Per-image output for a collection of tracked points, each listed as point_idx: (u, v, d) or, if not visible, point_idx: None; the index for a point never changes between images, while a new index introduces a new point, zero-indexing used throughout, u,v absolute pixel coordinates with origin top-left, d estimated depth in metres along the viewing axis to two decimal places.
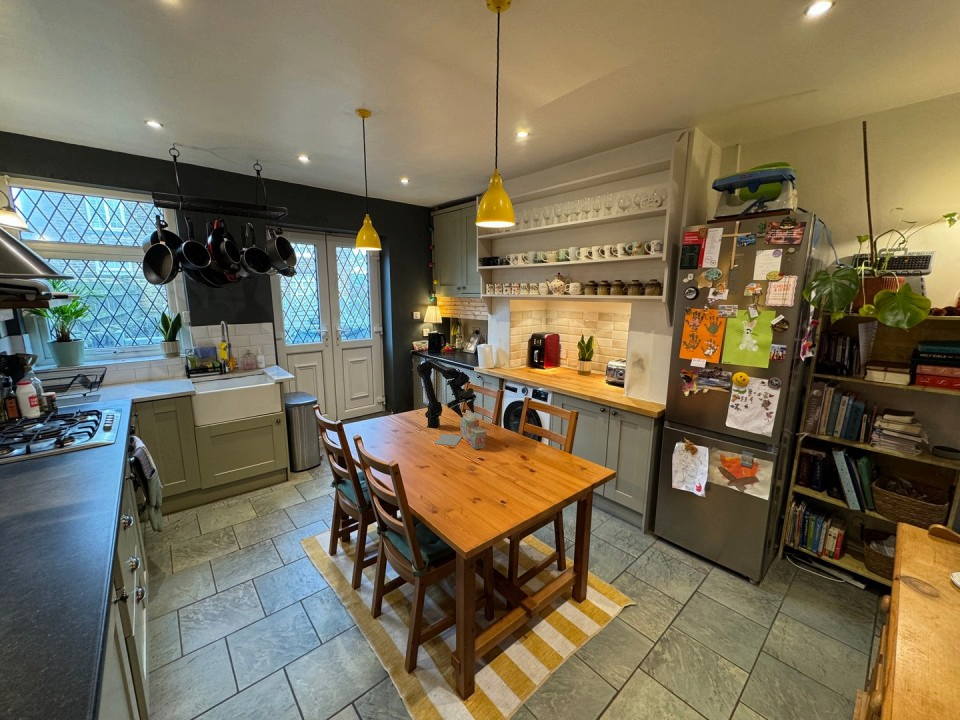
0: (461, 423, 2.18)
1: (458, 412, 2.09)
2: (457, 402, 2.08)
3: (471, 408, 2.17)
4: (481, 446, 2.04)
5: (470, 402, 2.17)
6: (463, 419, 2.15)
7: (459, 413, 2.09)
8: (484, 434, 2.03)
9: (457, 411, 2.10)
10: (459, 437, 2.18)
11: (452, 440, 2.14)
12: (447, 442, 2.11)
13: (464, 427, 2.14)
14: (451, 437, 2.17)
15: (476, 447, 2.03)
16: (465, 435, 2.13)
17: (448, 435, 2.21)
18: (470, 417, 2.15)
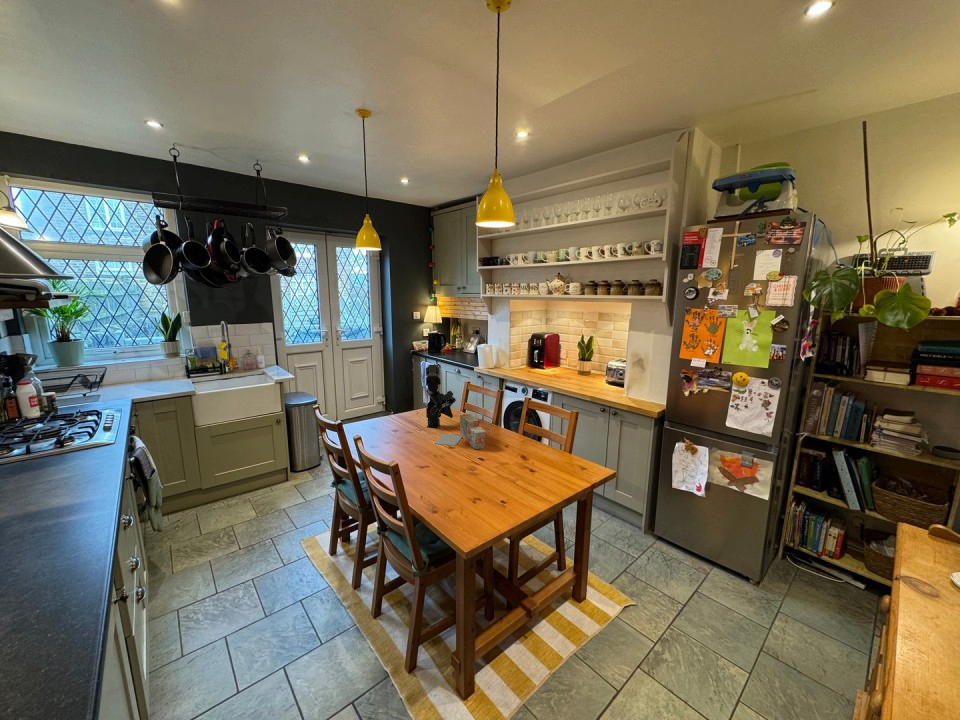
0: (461, 423, 2.18)
1: (447, 413, 2.15)
2: (440, 406, 2.10)
3: None
4: (481, 446, 2.04)
5: None
6: (463, 419, 2.15)
7: (448, 414, 2.15)
8: (484, 434, 2.03)
9: (446, 413, 2.15)
10: (459, 437, 2.18)
11: (452, 440, 2.14)
12: (447, 442, 2.11)
13: (464, 427, 2.14)
14: (451, 437, 2.17)
15: (476, 447, 2.03)
16: (465, 435, 2.13)
17: (448, 435, 2.21)
18: (470, 417, 2.15)
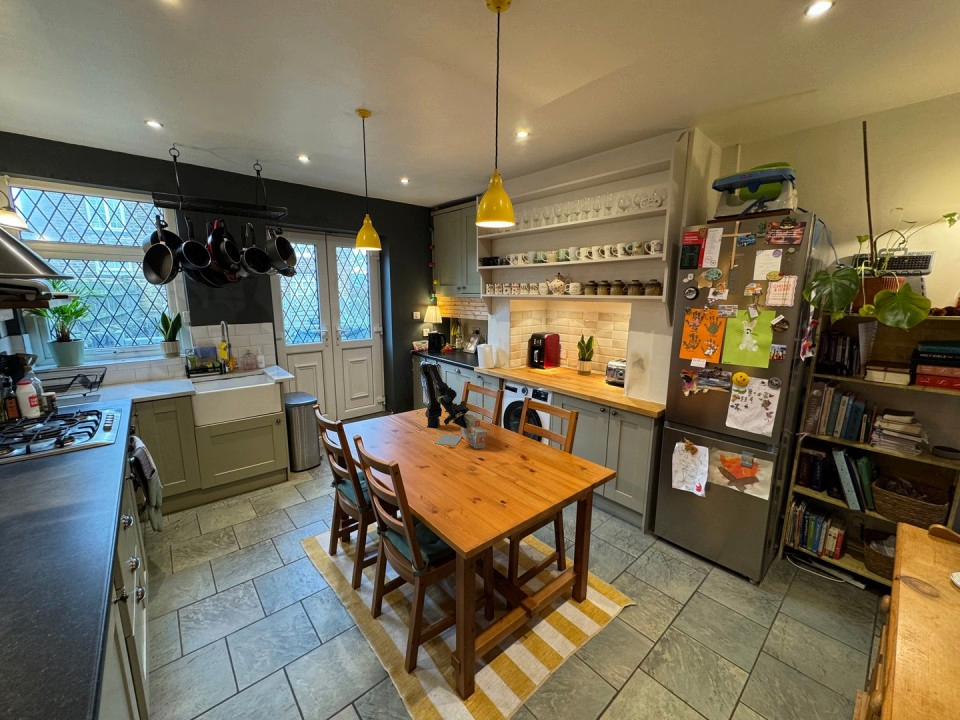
0: None
1: (461, 424, 2.12)
2: (454, 416, 2.07)
3: None
4: (481, 446, 2.04)
5: None
6: (464, 419, 2.15)
7: (462, 425, 2.12)
8: (485, 434, 2.04)
9: (459, 423, 2.12)
10: (459, 437, 2.18)
11: (452, 440, 2.14)
12: (447, 442, 2.11)
13: None
14: (451, 437, 2.17)
15: (476, 447, 2.03)
16: (465, 435, 2.14)
17: (448, 435, 2.21)
18: (471, 417, 2.16)
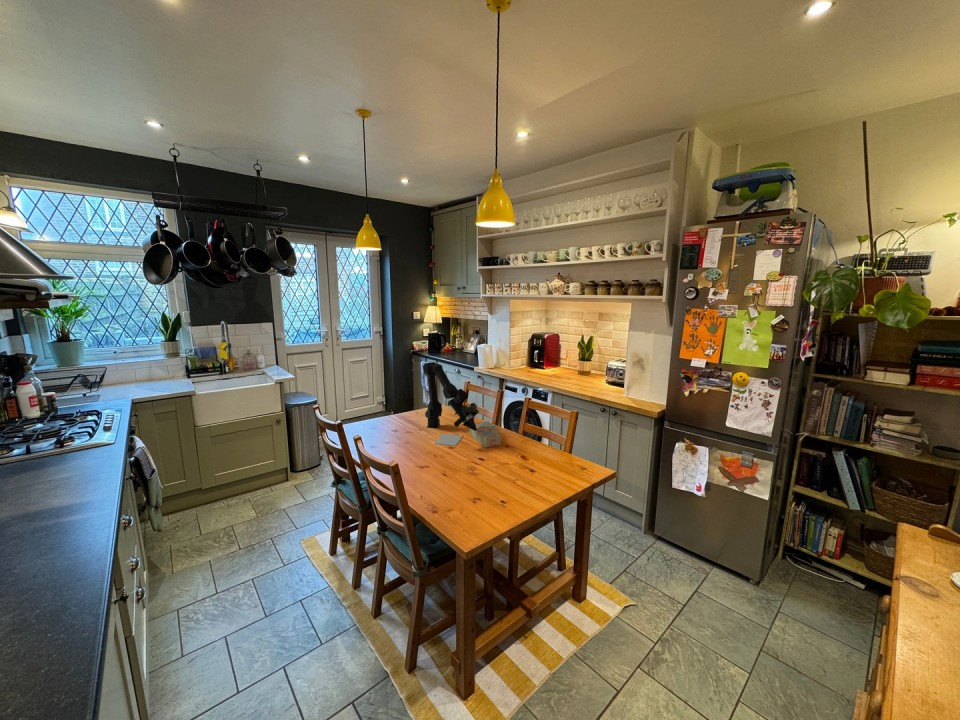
0: (483, 423, 2.24)
1: (471, 426, 2.09)
2: (464, 418, 2.04)
3: None
4: (487, 443, 2.05)
5: None
6: (490, 423, 2.23)
7: (472, 427, 2.09)
8: (497, 444, 2.08)
9: (470, 425, 2.09)
10: (459, 437, 2.18)
11: (452, 440, 2.14)
12: (447, 442, 2.11)
13: (486, 426, 2.19)
14: (451, 437, 2.17)
15: (486, 438, 2.04)
16: (480, 428, 2.17)
17: (448, 435, 2.21)
18: None
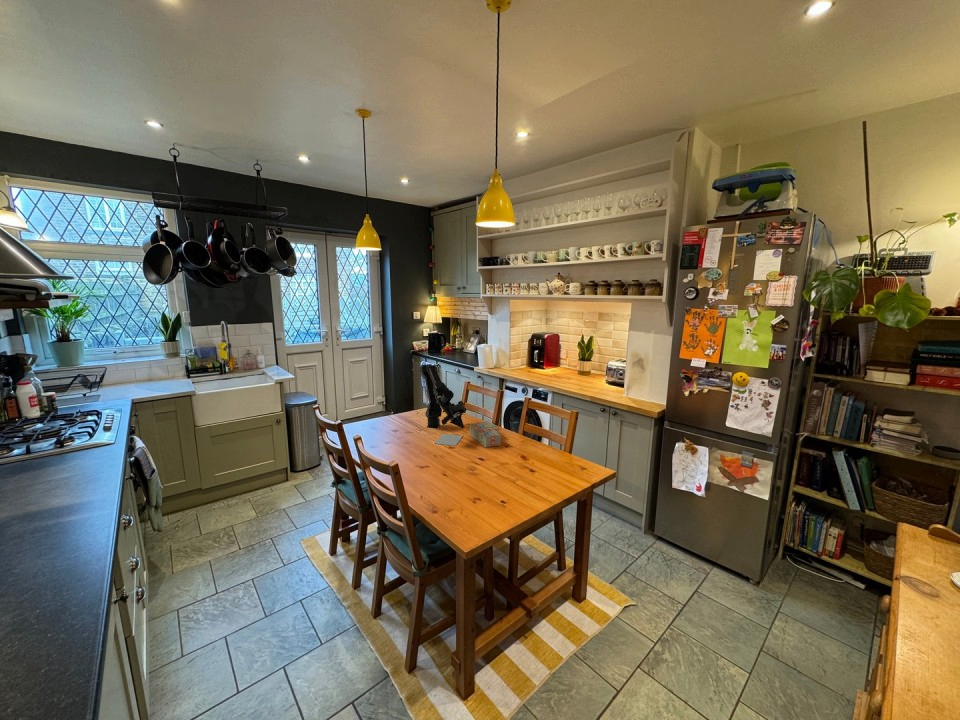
0: (483, 423, 2.24)
1: (458, 424, 2.13)
2: (451, 416, 2.08)
3: None
4: (487, 443, 2.05)
5: None
6: (490, 423, 2.23)
7: (459, 424, 2.13)
8: (497, 444, 2.08)
9: (457, 423, 2.13)
10: (459, 437, 2.18)
11: (452, 440, 2.14)
12: (447, 442, 2.11)
13: (486, 426, 2.19)
14: (451, 437, 2.17)
15: (486, 438, 2.04)
16: (480, 428, 2.17)
17: (448, 435, 2.21)
18: None
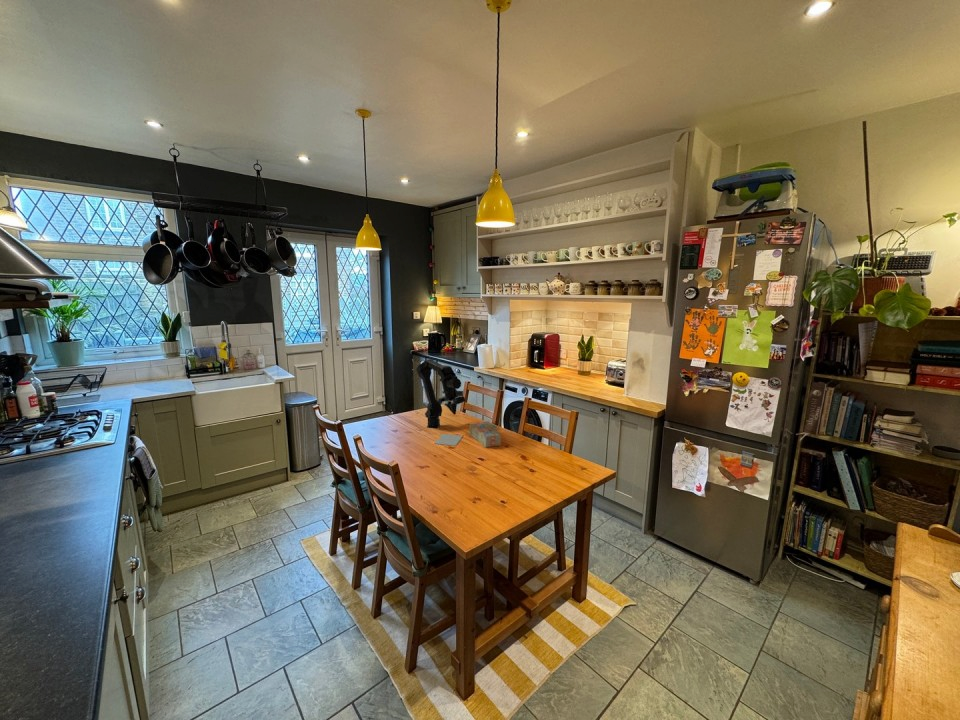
0: (483, 423, 2.24)
1: (454, 409, 2.19)
2: None
3: None
4: (487, 443, 2.05)
5: None
6: (490, 423, 2.23)
7: (455, 410, 2.20)
8: (497, 444, 2.08)
9: (454, 408, 2.19)
10: (459, 437, 2.18)
11: (452, 440, 2.14)
12: (447, 442, 2.11)
13: (486, 426, 2.19)
14: (451, 437, 2.17)
15: (486, 438, 2.04)
16: (480, 428, 2.17)
17: (448, 435, 2.21)
18: None
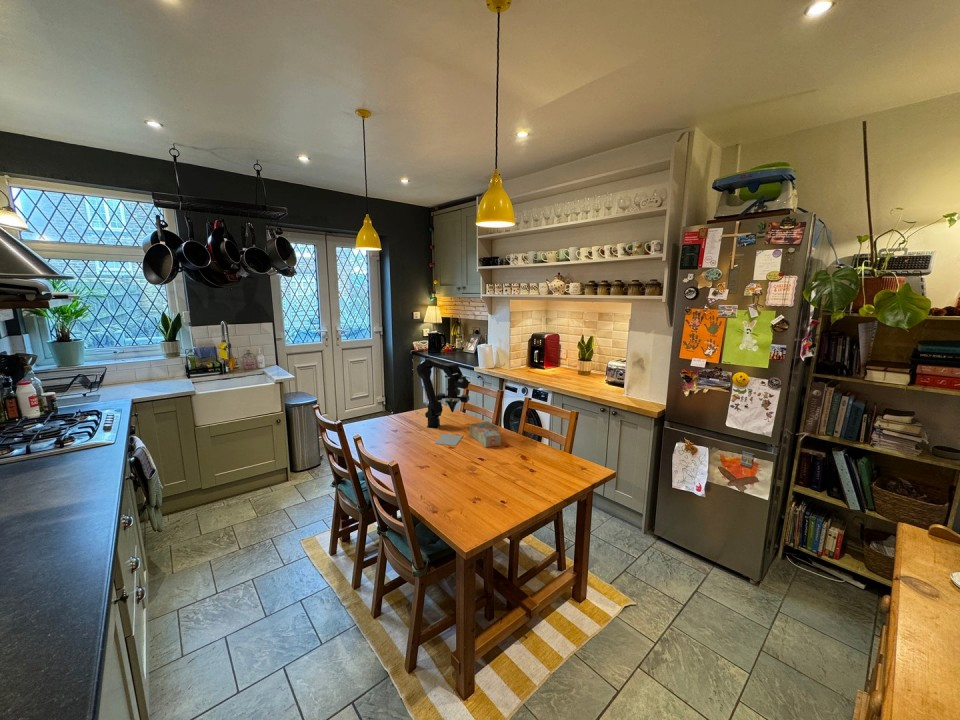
0: (483, 423, 2.24)
1: (454, 406, 2.22)
2: None
3: None
4: (487, 443, 2.05)
5: (451, 401, 2.22)
6: (490, 423, 2.23)
7: (454, 407, 2.22)
8: (497, 444, 2.08)
9: (454, 405, 2.21)
10: (459, 437, 2.18)
11: (452, 440, 2.14)
12: (447, 442, 2.11)
13: (486, 426, 2.19)
14: (451, 437, 2.17)
15: (486, 438, 2.04)
16: (480, 428, 2.17)
17: (448, 435, 2.21)
18: None
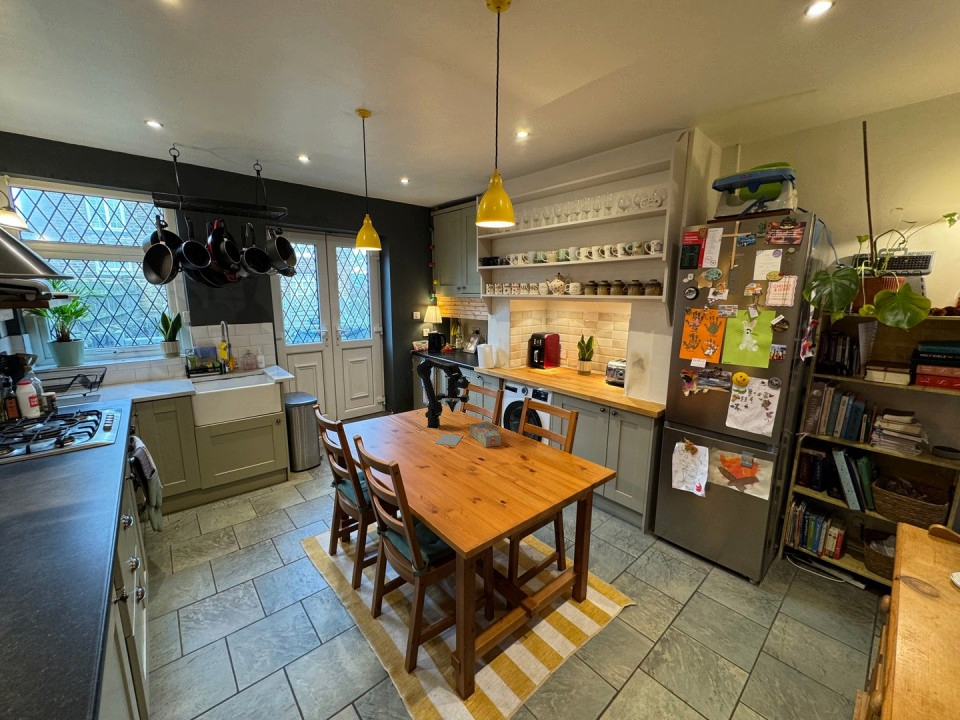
0: (483, 423, 2.24)
1: (454, 406, 2.22)
2: None
3: None
4: (487, 443, 2.05)
5: (451, 401, 2.22)
6: (490, 423, 2.23)
7: (454, 407, 2.22)
8: (497, 444, 2.08)
9: (454, 405, 2.21)
10: (459, 437, 2.18)
11: (452, 440, 2.14)
12: (447, 442, 2.11)
13: (486, 426, 2.19)
14: (451, 437, 2.17)
15: (486, 438, 2.04)
16: (480, 428, 2.17)
17: (448, 435, 2.21)
18: None
